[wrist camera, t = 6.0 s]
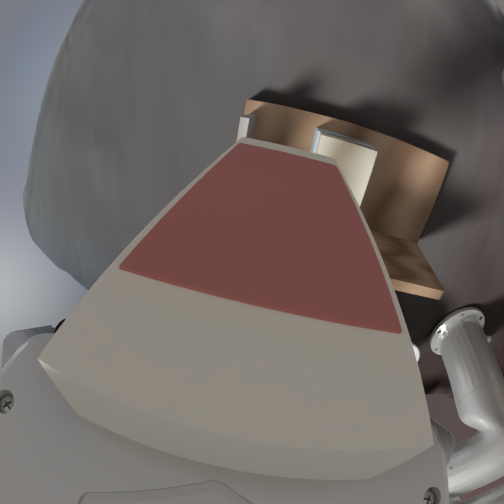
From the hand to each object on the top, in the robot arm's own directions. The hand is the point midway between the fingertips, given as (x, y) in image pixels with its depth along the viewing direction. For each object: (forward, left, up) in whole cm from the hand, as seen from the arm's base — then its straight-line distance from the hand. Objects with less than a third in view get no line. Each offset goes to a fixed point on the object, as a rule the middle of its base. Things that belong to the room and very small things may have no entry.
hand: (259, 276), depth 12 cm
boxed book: (0, 0, -5) cm, 5 cm away
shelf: (-7, +1, -24) cm, 25 cm away
